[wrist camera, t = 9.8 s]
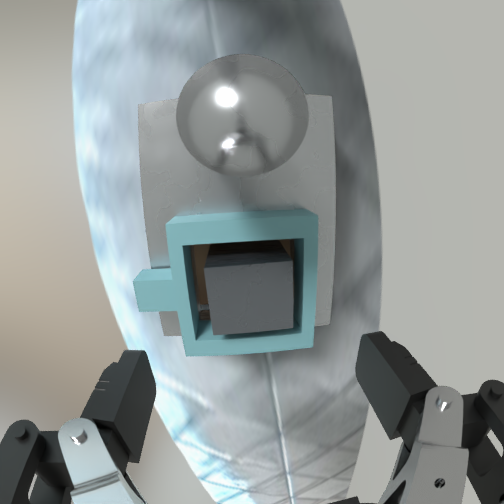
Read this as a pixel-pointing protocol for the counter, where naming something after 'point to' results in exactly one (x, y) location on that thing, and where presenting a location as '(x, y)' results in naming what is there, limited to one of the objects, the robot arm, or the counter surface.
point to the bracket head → (222, 231)
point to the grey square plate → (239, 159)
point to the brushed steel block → (249, 287)
